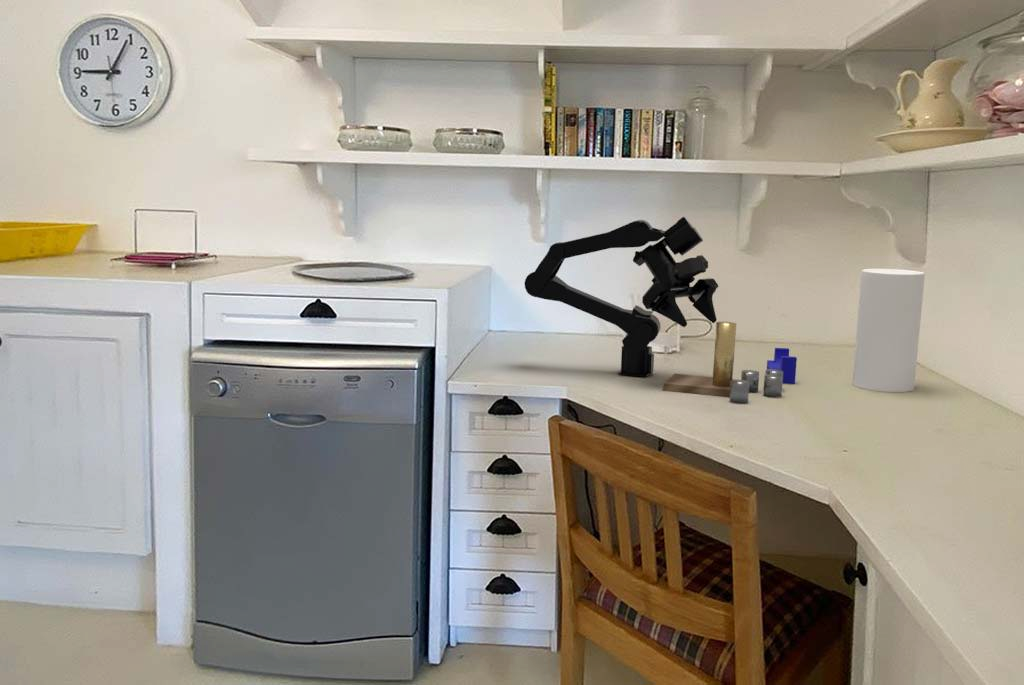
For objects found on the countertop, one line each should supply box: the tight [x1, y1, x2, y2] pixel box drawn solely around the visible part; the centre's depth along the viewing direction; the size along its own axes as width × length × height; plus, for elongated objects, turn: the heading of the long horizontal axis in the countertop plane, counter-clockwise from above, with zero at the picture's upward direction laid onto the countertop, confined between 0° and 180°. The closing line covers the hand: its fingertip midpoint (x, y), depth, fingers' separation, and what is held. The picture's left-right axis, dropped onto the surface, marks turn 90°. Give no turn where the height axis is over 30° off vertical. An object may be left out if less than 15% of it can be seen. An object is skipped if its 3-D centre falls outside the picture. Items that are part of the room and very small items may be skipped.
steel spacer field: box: [729, 368, 783, 404], centre depth 189 cm, size 9×18×4 cm, turn 158°
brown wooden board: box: [662, 373, 739, 398], centre depth 194 cm, size 14×11×2 cm
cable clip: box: [766, 347, 798, 385], centre depth 206 cm, size 12×4×6 cm, turn 172°
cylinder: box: [852, 268, 926, 393], centre depth 198 cm, size 12×12×25 cm
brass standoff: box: [712, 321, 737, 387], centre depth 190 cm, size 4×4×13 cm
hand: (700, 323), depth 195 cm, fingers open, 9 cm apart
